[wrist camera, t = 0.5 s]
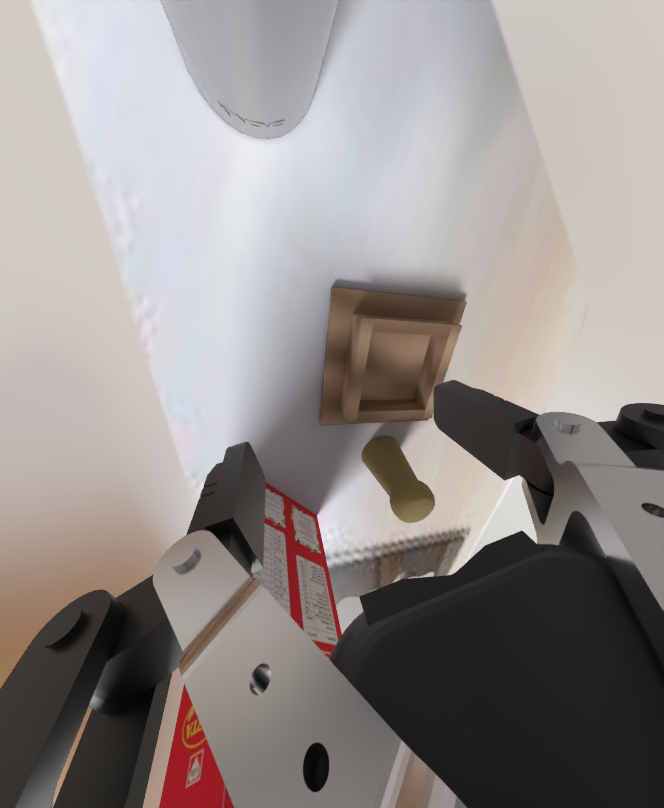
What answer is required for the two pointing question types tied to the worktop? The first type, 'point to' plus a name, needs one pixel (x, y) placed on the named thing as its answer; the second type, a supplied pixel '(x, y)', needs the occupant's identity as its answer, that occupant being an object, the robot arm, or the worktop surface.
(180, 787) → the food packaging
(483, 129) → the worktop surface
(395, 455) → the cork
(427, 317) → the shaker holder
